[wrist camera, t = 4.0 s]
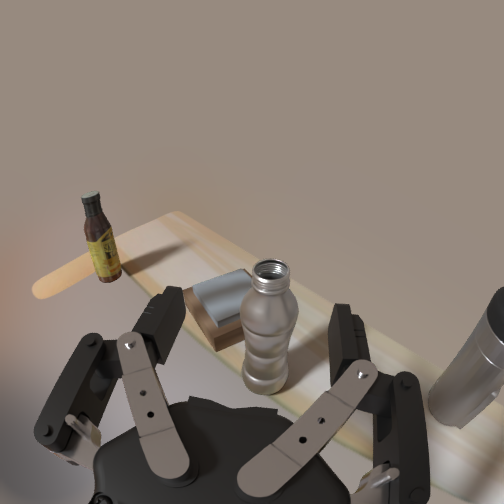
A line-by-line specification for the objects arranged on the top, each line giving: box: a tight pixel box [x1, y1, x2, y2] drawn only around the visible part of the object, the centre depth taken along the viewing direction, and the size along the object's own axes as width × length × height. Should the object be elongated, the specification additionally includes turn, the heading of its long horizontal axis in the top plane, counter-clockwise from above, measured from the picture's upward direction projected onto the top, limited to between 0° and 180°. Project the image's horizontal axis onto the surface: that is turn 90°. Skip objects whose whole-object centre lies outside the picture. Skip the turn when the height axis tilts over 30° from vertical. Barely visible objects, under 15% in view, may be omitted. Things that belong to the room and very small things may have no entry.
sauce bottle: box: [81, 191, 122, 283], centre depth 53 cm, size 6×6×20 cm
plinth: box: [183, 269, 252, 352], centre depth 48 cm, size 13×13×5 cm
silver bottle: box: [240, 259, 299, 395], centre depth 32 cm, size 6×7×20 cm
